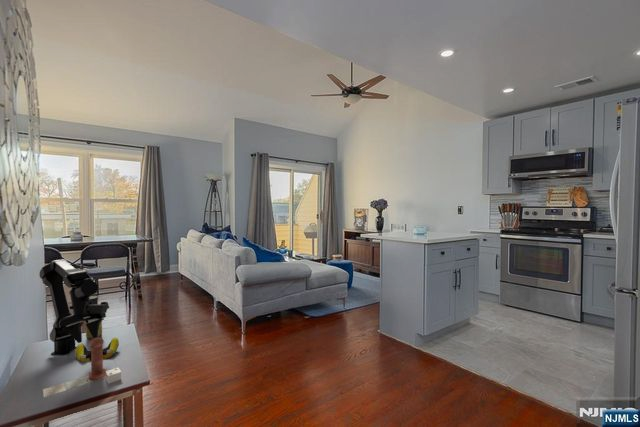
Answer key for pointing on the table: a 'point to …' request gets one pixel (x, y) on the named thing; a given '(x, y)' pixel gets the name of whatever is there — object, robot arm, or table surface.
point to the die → (113, 375)
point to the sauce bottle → (88, 334)
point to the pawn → (96, 359)
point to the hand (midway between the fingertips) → (88, 340)
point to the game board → (69, 385)
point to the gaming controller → (85, 355)
